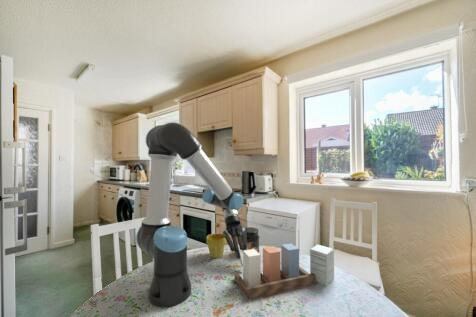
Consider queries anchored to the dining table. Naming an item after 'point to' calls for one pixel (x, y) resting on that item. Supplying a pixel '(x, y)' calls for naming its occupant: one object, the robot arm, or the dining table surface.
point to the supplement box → (322, 263)
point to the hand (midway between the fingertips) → (243, 265)
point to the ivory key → (251, 267)
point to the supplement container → (252, 238)
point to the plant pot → (216, 245)
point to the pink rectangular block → (271, 264)
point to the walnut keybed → (276, 284)
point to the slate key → (290, 260)
